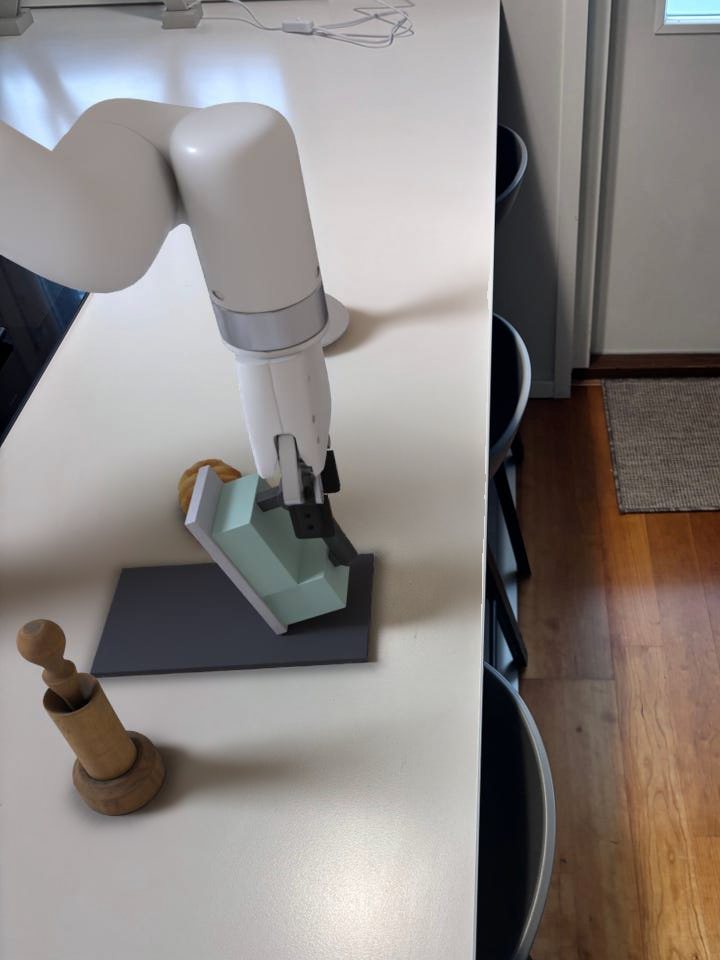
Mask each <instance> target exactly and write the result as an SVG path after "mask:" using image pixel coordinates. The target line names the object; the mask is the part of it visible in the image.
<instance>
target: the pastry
mask: <svg viewBox="0 0 720 960" xmlns="http://www.w3.org/2000/svg"><path fill="white" fill-rule="evenodd" d="M207 465H210V466H211V467H212V469H213V470H214V471H215V473H216V474H217V475H218V476H219V478H220V479H221V480H222V482H223V483H224V484H225V483H228V482H230V481H233V480H236V479H239V478H242V477H243V476H242V472H240V471H239V470H238V469H236V468H234V467H233V466H232V465H230V464H228V463H226V462H224V461H223V460H222V459H218V458H207V459H202V460H200V461H197V462H195V463H194V464H192V466H191V467H189V468H187V469H185V470H184V472H183V473H182V475H181V476H180V478H179V481H178V484H177V485H178V486H177V489H178V497H177V498H178V501H177V502H178V505H179V506H180V507H181V508H182V510H183V512H184V514H185V515H186V516H187V514H188V510H189V506H190V502H191V499H192V495H193V491H194V487H195V483H196V479H197V476H198V472H199V468H201V467H204V466H207Z"/></svg>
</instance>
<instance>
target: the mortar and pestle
mask: <svg viewBox="0 0 720 960" xmlns="http://www.w3.org/2000/svg"><path fill="white" fill-rule="evenodd" d="M15 642H16V648H17V651H18V653H19V654H20V656H21V657H22V659H24V660H26V661H27V662H28V663H31V664H34V665H36V666H39V667H41V668H43V671H42V673H41V679H42V681H43V683H44V684H45V685H46V686H47V687H48V688H47V689H46V691H45V692H44V694H43V698H42V706H43V708H44V710H45V711H46V713H47V714H48V716H49V717H50V719H51V721H53V723H54V725H55V726H56V728H57V729H58V730H59V732H60V733H61V735H62V737H63V738H64V740H65V741H66V743H67V744H68V745H69V747H70V748H71V750H72V752H73V753H74V755H75V756H76V759H75V761H74V763H73V767H72V772H71V773H72V782H73V785H74V787H75V789H76V791H77V792H78V794H79V795H80V796H81V798H82V800H83V801H84V803H85V804H86V805H87V806H88V807H89V808H90V809H91V810H92V811H94V812H96V813H97V814H101V815H105V816H119V815H124V814H125V815H126V814H128V813H131V812H135V811H136V810H139V809H140V808H141V807H143V806H144V805H146V804H147V803H149V802H150V801H151V800H152V799H153V798H154V797H155V795H156V794H157V793H158V791H159V790H160V788H161V786H162V785H163V782H164V779H165V764H164V761H163V758H162V757H161V755H160V753H159V752H158V750H157V748H156V746H155V745H154V743H153V742H152V741H151V740H150V738H149V737H148V736H146V735H144V734H142V733H141V732H138V731H135V730H129V729H127V730H126V728H125V727H124V725H123V723H122V721H121V719H120V718H119V717H118V713H117V712H116V711H115V709H114V708H113V706H112V704H111V702H110V700H109V698H108V696H107V694H106V692H105V691H104V689H103V687H102V686H101V684H100V682H99V680H98V679H97V677H94V676H93V675H91V674H90V673H88V672H78V670H77V666H76V664H75V663H74V662H73V660H70V659H68V658H64V656H65V651H66V645H67V637H66V634H65V631H64V629H62V627H61V626H60V625H59V624H58V623H57V622H55V621H53V620H51V619H47V618H35V619H32V620H29V621H27V622H26V623H24V624H23V625H22V626H21V627H20V628H19V630H18V632H17V634H16V641H15Z"/></svg>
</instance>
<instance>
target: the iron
mask: <svg viewBox="0 0 720 960" xmlns="http://www.w3.org/2000/svg"><path fill="white" fill-rule="evenodd" d="M300 462H304V461H303V460H302V459H300ZM301 478H302V485H303V486H311V487H313V486H312V485H311V475H302V476H301ZM333 519H334V524H335V528H336V533H335V536H334V537H330V538H313V539H298V538H296V536H295V533H294V529H293V525H292V522H291V518H290V514H289V510H288V507H287V505H285V503H284V498H283V488H282V478H281V477H280V479H279V485H277V486H274V487H272V486H271V484H270V483H269V481H268V479H263V478H261V477H260V476H259V474H258V472H257V471H256V472H254V473H251V474H247V475H245V476H242V478H239V479H236V480H233V481H230V482H228V483H225V484H224V483H223V482H222V480H221V479H220V478H219V476H218V475H217V474H216V473H215V471H214V470H213V469H212V467H211V466H210V465H207V466H204V467H201V468H199V472H198V476H197V479H196V483H195V487H194V491H193V495H192V499H191V502H190V506H189V510H188V514H187V515H186V517H185V521H184V526H185V527H186V528H187V529H188V531H189V532H190V533H191V534H192V535H193V536H194V538H195V539H196V540H197V541H198V542H199V543H200V544H201V546H202V547H203V548H204V549H205V551H206V552H207V553H208V554H209V555H210V556H211V558H212V559H213V560H214V562H215V563H217V564H218V565H219V566H220V567H221V568H222V570H223V571H224V572H225V573H226V574H227V575H228V577H229V578H230V579H231V580H232V581H233V583H234V584H235V585H236V586H237V587H238V589H239V590H240V591H241V592H242V593H243V595H244V596H245V597H246V598H247V599H248V600H249V602H250V603H251V604H252V605H253V606H254V608H255V609H256V610H257V611H258V612H259V614H260V615H261V616H262V617H263V618H264V620H265V621H266V622H267V623H268V624H269V625H270V627H271V628H272V629H273V630H274V631H275V633H276V634H277V635H278V634H282V633H285V632H287V627H288V625H289V624H292V623H296V622H299V621H302V620H305V619H309V618H312V617H315V616H318V615H322V614H325V613H328V612H332V611H335V610H338V609H341V608H345V607H346V600H347V588H348V577H349V566H352V565H354V564H355V563H356V562H357V559H358V554H359V552H358V551H357V548H355V546H354V545H353V543H352V542H351V540H350V539H349V537H348V536H347V534H346V533H345V531H344V530H343V528H342V527H341V526H340V524H339V523H338V521H337V520H336V518H335V517H334V516H333Z"/></svg>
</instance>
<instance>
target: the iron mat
mask: <svg viewBox="0 0 720 960" xmlns="http://www.w3.org/2000/svg"><path fill="white" fill-rule="evenodd" d="M374 568H375V554H374V553H373V552H372V553H370V552H369V553H358V559H357V562H356V563H355V564H354V565H352V566H349V577H348V588H347V600H346V607H345V608H341V609H338V610H335V611H332V612H328V613H325V614H322V615H318V616H315V617H312V618H309V619H305V620H302V621H299V622H296V623H292V624H289V625H288V627H287V632H285V633H282V634H278V635H277V634H276V633H275V631H274V630H273V629H272V628H271V627H270V625H269V624H268V623H267V622H266V621H265V620H264V618H263V617H262V616H261V615H260V614H259V612H258V611H257V610H256V609H255V608H254V606H253V605H252V604H251V603H250V602H249V600H248V599H247V598H246V597H245V596H244V595H243V593H242V592H241V591H240V590H239V589H238V587H237V586H236V585H235V584H234V583H233V581H232V580H231V579H230V578H229V577H228V575H227V574H226V573H225V572H224V571H223V570H222V568H221V567H220V566H219V565H218V564H217V562H203V563H187V564H169V565H167V564H166V565H154V566H136V567H135V566H134V567H122V568H121V571H120V574H119V578H118V581H117V584H116V588H115V589H114V590H115V591H114V594H113V597H112V600H111V603H110V607H109V610H108V613H107V617H106V619H105V623H104V626H103V629H102V632H101V635H100V639H99V642H98V645H97V648H96V652H95V655H94V658H93V662H92V665H91V667H90V671H89V674H91V675H93V676H94V677H95V678H105V677H106V678H107V677H120V676H121V677H122V676H139V675H142V676H143V675H159V674H175V673H191V672H192V673H194V672H210V671H211V672H212V671H213V672H214V671H228V670H243V669H244V670H246V669H247V670H248V669H249V670H250V669H263V668H282V667H300V666H317V665H318V666H319V665H335V664H354V663H367V662H369V661H368V660H369V647H370V646H369V645H370V631H371V616H372V615H371V614H372V599H373V588H374V570H375V569H374Z"/></svg>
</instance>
